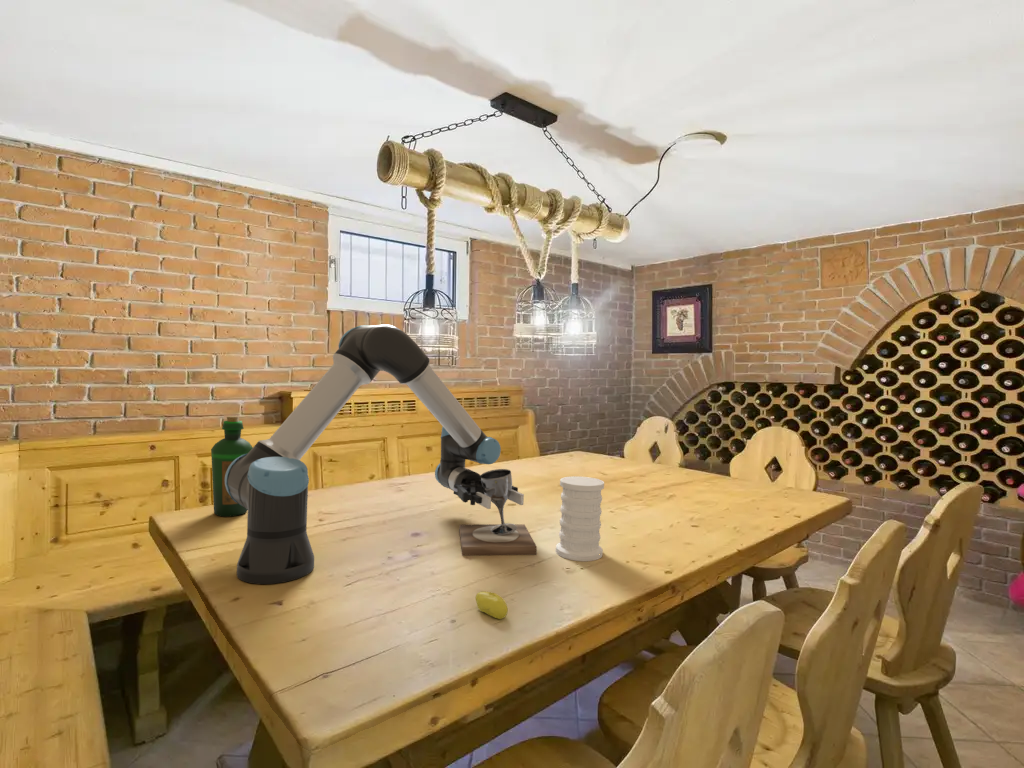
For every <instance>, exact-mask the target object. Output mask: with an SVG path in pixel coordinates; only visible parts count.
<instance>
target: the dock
mask: <svg viewBox="0 0 1024 768" xmlns="http://www.w3.org/2000/svg"><path fill="white" fill-rule="evenodd" d="M514 524H515V523H514ZM497 525H500V524H498V523H497V524H487V523H486V524H485V523H484V524H475V523H473V524H471V523H470V524H469V523H468V524H462V523H461V524H459V527H458V529H459V530H458V533H459V534H458V535H459V540H460V541H459V543H460V549H461V550H460V551H461V556H508V555H509V556H512V555H513V556H518V555H521V556H523V555H529V556H530V555H536V556H537V545H536V543H535V541H534V539H533V537H532V535H531V534H530V532H529V529H528V528H527V526H526V525H525V523H522V524H520V523H519V524H517V523H516V524H515V525H516V526H517V529H516V530H515V531H514V532H512V533H509V534H504V535H495V534H492V533H491V532H490V530H491V529H492V528H493V527H494V526H497Z"/></svg>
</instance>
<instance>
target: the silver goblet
mask: <svg viewBox="0 0 1024 768" xmlns="http://www.w3.org/2000/svg"><path fill="white" fill-rule="evenodd" d="M480 475H481V483H482V487H483V491H484V493H485V495H486V496H488V497H490V498H491V504H494V505H495V507H496V508H497V509H498V513H499V516H500V522H501V524H500V525H497V526H494V527H493V528H492V529H491V530H490V532H491V533H492V534H495V535H504V534H509V533H512V532H514V531H515V530H516V529H517V526H516V525H515V523H509V522H508V523H506V522H505V517H504V507H505V505H506V502H507V501H508V500H509V499H508V498H509V496H510V494H511V491H512V486H513V478H512V477H513V476H512V471H511V470H510V469H507V468H498V469H497V468H496V469H491V470H488V471H485V472H483V473H482V474H480Z"/></svg>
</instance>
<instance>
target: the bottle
mask: <svg viewBox="0 0 1024 768" xmlns="http://www.w3.org/2000/svg"><path fill="white" fill-rule="evenodd" d="M221 430H222V431H224V438H222V439H220V440H218V441H217V442H216V443H214V444H213V446H212V447H211V449H210V451H211V452H210V453H211V472H212V473H211V474H212V475H211V476H212V478H211V479H212V497H213V498H212V499H213V514H215V515H216V516H218V517H236V516H240V515H243V514H245V513H247V512H248V509H246V508H245V507H243V506H242V505H240V504H238V503H237V502H235V501H234V500H233V499H232V498H231V496H230V495H229V493H228V492H227V490H226V487H225V474H226V471H227V469H228V467H229V466H230V464H231V463H232V462H233V461H234V460H235V459H236V458H238V457H240V456H242V455H244V454H247V453H249V452H250V450H251V449H252V448H253V447H254V446H252V445H251V443H250V442H249V441H247V440H246V439H244V438H242V437H241V436H242V430H244V424H243V420H240V416H239V415H227V416H226V420H224V421H223V423H222V427H221Z"/></svg>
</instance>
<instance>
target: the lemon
mask: <svg viewBox="0 0 1024 768" xmlns="http://www.w3.org/2000/svg"><path fill="white" fill-rule="evenodd" d="M475 602H476V606H477V608H478V610H479V611H480V612H483V613H485V614H487V615H488V616H490V617H493V618H495V619H497V620H502V619H505V617H506V616H507V614H508V612H509V610H508V609H509V608H508V605H507V602H506V601H505V599H504V598H503V597H502V596H501V595H499V594H497V593H495V592H492V591H491V592H490V591H483V590H482V591H479V592H478V593H476V596H475Z"/></svg>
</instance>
